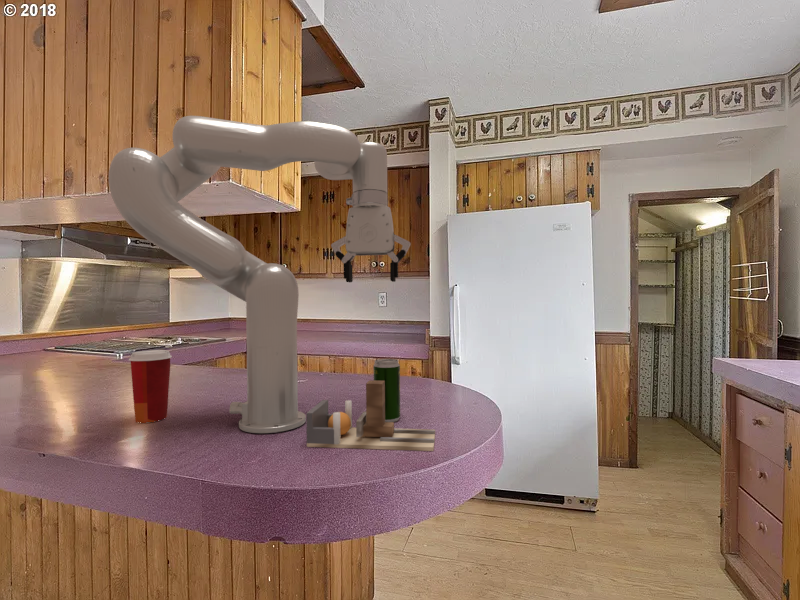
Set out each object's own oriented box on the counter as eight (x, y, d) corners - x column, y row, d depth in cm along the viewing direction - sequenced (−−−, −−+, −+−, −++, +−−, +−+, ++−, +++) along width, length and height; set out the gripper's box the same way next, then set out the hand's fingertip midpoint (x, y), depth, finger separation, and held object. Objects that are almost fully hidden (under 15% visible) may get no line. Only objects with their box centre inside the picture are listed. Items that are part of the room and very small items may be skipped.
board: (306, 446, 68) (306, 440, 68) (323, 429, 76) (323, 423, 76) (433, 451, 65) (433, 444, 65) (435, 432, 74) (435, 426, 74)
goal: (306, 443, 67) (306, 413, 67) (323, 426, 77) (323, 399, 77) (339, 444, 67) (339, 414, 67) (352, 427, 76) (352, 400, 76)
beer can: (382, 425, 79) (382, 363, 79) (369, 418, 83) (368, 360, 83) (405, 420, 82) (404, 360, 82) (391, 414, 86) (390, 357, 86)
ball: (349, 437, 69) (326, 439, 70) (354, 430, 73) (333, 432, 74) (346, 414, 69) (323, 416, 70) (351, 408, 73) (330, 410, 74)
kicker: (395, 429, 73) (394, 378, 73) (390, 440, 67) (390, 385, 67) (363, 428, 74) (363, 378, 74) (356, 439, 68) (355, 385, 68)
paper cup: (176, 412, 89) (175, 349, 89) (168, 422, 82) (167, 353, 82) (134, 416, 87) (134, 350, 87) (123, 426, 80) (122, 355, 80)
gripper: (326, 200, 85) (327, 281, 85) (408, 196, 83) (409, 280, 83) (336, 208, 93) (336, 283, 93) (411, 205, 91) (412, 281, 91)
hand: (371, 281), depth 88 cm, fingers open, 9 cm apart
